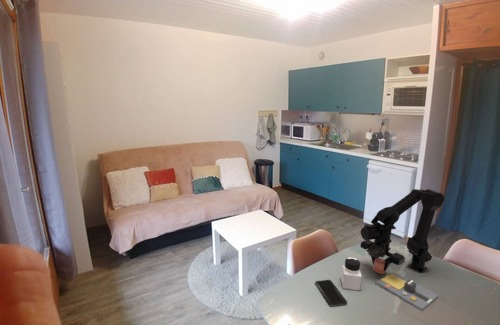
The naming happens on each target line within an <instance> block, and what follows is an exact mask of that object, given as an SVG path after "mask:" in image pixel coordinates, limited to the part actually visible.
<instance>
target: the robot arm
mask: <svg viewBox="0 0 500 325" xmlns="http://www.w3.org/2000/svg"><path fill="white" fill-rule="evenodd" d="M444 201H445V195H444V194H443V193H441V192H438V191H436V190H433V189H430V188H427V189H417V188H416V189H415V188H413V189H412V190H411V191H410V192H409V193H408V194H406V196H404V197H403V198H401V199H400V200H398V201H397V202H396V203H394V204H393V205H391V206H386V207H383V208H382V209H380V210H379V211H378V212H376V214H375V216H374V217H373V219H372V220H371V221H370V223H371V224H364V226H363V227H361V229H360V235H361V238H362V239H363V241H361V242H360V245H359V247H360V248H362V249H364V250H365V251H366V252H367V253H368V255H369V256H370V258H371V262H372V264H373V266H374V261H375V258H382V259H384V260H385V266H384V271H387V269H388V268H389V267H390V265H391V264H394V265H396V266H399V265H401V264H403V263H405V262H406V258H405V255H403V254H401V253H399V252H394V253H393V252H390V251H391V247H390V244H391V243H392V241H393V240H392V239H391V237H392V230H396V229H397V227H396V226H395V224H396V223H397V222H398V221H399V219H400V216H401V215H402V214H404V213H405V212H407V211H408V210H409V209H411V208H412V207H413V206H414V205H416V204H417V203H419V202H421V205H422V210H421V212H420V216H419V218H418V222H417V227H416V228H415V233H414V235H413V236H412V237H411V236H410V237H408V239H407V242H406V243H405V244H406V249H407V250H408V253H409V254H411V255H412V256H411V263H409V264H408V265H407V267H409V268H410V269H413V270H415V271H416V272H419V273H424V272H425V271H426V270H428V267H427V266H426V263H428V262H429V261H431V260H432V258H433V256H432V255H431V253H430V252H429V248H430V247H429V242H428V237H429V232H430V230H431V226H432V223H433V220H434V216H435V213H436V211H437V210H438V209H440V208H441V207H442V206H443V202H444ZM372 240H374V241H372ZM385 256H386V258H384V257H385Z"/></svg>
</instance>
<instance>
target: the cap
mask: <svg viewBox="0 0 500 325" xmlns="http://www.w3.org/2000/svg"><path fill="white" fill-rule="evenodd" d="M384 266H385V258H382V257H379V258H375V261H374V265H373V267H372V269H373V271H374V272H375V273H378V274H379V275H380V274H381V275H383V274H386V271H387V270H386V271H384Z"/></svg>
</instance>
